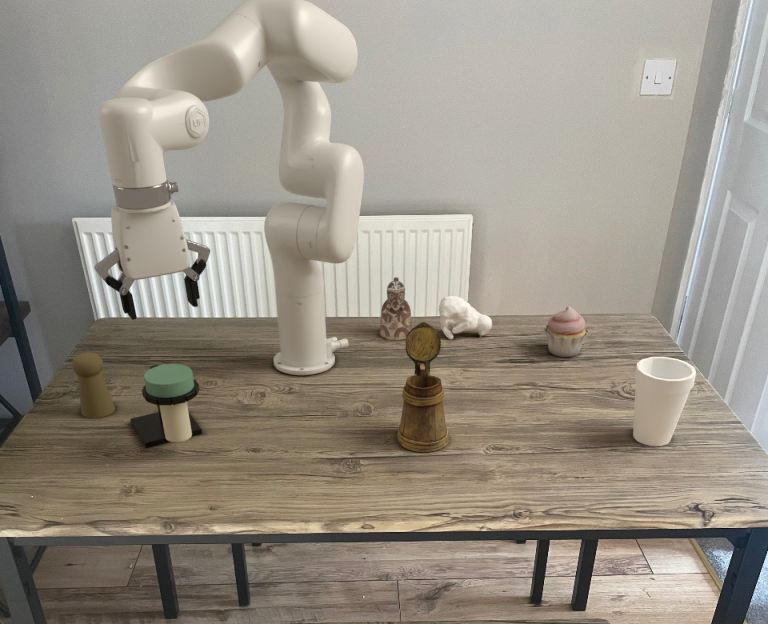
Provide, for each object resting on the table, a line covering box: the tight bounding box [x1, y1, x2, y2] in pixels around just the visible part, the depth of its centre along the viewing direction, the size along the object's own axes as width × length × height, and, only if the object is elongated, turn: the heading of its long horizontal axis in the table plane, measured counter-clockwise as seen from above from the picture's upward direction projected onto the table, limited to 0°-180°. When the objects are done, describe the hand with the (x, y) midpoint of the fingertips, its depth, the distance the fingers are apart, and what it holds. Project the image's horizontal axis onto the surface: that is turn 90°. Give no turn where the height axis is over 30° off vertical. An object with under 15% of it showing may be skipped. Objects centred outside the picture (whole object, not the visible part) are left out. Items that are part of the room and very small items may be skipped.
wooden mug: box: [397, 321, 450, 453], centre depth 136 cm, size 9×14×18 cm, turn 179°
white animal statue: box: [438, 295, 493, 340], centre depth 175 cm, size 6×8×12 cm
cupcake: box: [542, 305, 590, 358], centre depth 167 cm, size 9×9×10 cm
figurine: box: [378, 276, 413, 341], centre depth 174 cm, size 7×7×12 cm
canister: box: [143, 363, 194, 443], centre depth 132 cm, size 8×8×11 cm
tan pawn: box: [71, 351, 116, 419], centre depth 146 cm, size 6×6×11 cm
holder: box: [129, 364, 203, 449], centre depth 137 cm, size 10×18×12 cm, turn 29°
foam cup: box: [632, 356, 697, 447], centre depth 136 cm, size 10×9×13 cm
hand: (163, 310), depth 124 cm, fingers open, 9 cm apart
